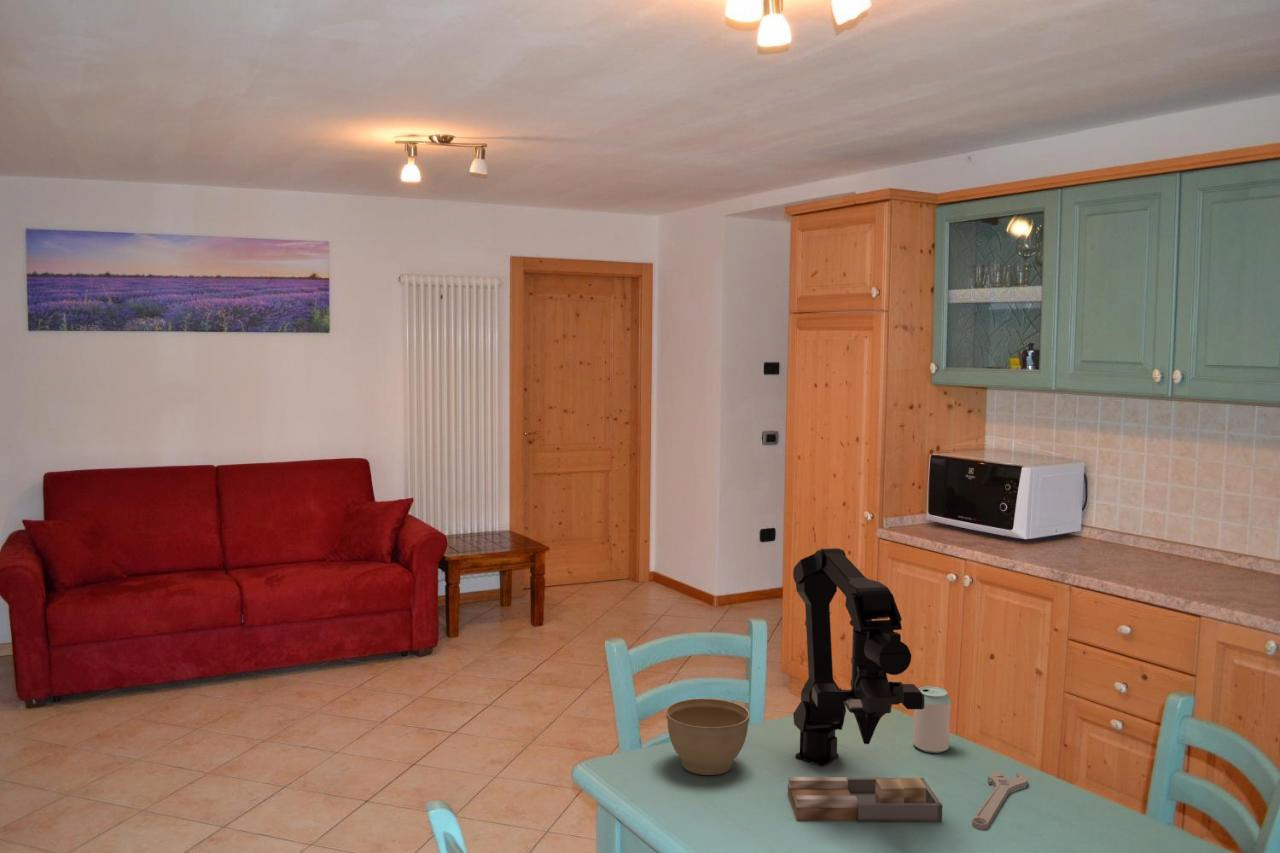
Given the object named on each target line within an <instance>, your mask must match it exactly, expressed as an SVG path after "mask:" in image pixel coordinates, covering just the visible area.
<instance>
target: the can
mask: <svg viewBox="0 0 1280 853" xmlns="http://www.w3.org/2000/svg"><path fill="white" fill-rule="evenodd" d="M918 689H919V690H920V691H921V692H922V694H923V695H924V699H925V701H924V709H913V712H914V713H913V718H914V719H913V736H912V737H913V740H912V744H913V746H915V748H917V749H918V750H920V751H921V752H924V753H929V754H942V753H944V752H945V751H947V750H948V749H949V748H950V732H951V731H950V729H951V704H952V701H951V699H950V697H949V696H948V694H949V692H948V691H947V690H946V689H944V688H941V687H937V686H921V687H920V688H918Z"/></svg>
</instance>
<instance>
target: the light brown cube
mask: <svg viewBox="0 0 1280 853" xmlns="http://www.w3.org/2000/svg"><path fill="white" fill-rule="evenodd" d="M896 778H897V779H898V780H899V781H900V783H901V785H902V786H903V788H904V803H926V787H925V785H924V784H923V782H922V781H921V780H920V778H921V777H896Z"/></svg>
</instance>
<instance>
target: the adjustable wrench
mask: <svg viewBox="0 0 1280 853" xmlns="http://www.w3.org/2000/svg"><path fill="white" fill-rule="evenodd" d="M987 783H988V785H991V784H992V785H993V786H994V787H995V788H994V787H993V786H992V785H991V786H992V787H993V788H994V789H993V790H992V791H991V792H990V794H989V795H988V797H987V798H986V800H985V801H984V802H983V803H982V805H981V806H980V807H979V809H978V810H977V811H976V813H975V814H974V816H973V817H972V819H971V827H973V829H976V830H980V831H985V830H987V829H989V827H990V825H991V824H992V822H993V821H994V819H995V817H996V815H997V814H998V813H999V811H1000V808H1001V807H1002V806H1003V804H1004V802H1005V800H1006V799H1007V797H1008V796H1009V795H1010V794H1012V793H1014V792H1013V791H1015V790H1017V789H1021V788H1024V787H1026V786H1027V787H1028V777H1027V776H1026V775H1025V774H1024V773H1021V772H1018V771H1016V777H1013V778H1012V777H1004V774H1003V771H1002V770H995V771H992V772H991V774H990V776H989V775H988V776H987ZM1027 787H1026V788H1027ZM1024 789H1025V788H1024ZM1021 790H1022V789H1021ZM1011 792H1012V793H1011ZM1015 792H1016V791H1015ZM1009 793H1010V794H1009ZM1008 794H1009V795H1008ZM1007 795H1008V796H1007Z"/></svg>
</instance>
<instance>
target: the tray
mask: <svg viewBox="0 0 1280 853" xmlns="http://www.w3.org/2000/svg"><path fill="white" fill-rule="evenodd" d="M846 778H847V780H848V791H849V793H850V794H851V796H856V798H857V800H858V801H857V808H858V821H857V822H858V823H865V822H866V823H875V822H876V823H942V822H943V807H944V806H943V804H942V803H941V801H940V800H939V798H938V797H937V796H936V794H935V793H934V791H933V790H932V788H931V786H929V784H928V782H927V781H926V780H925V778H924V777H919V778H920V780H921V781H922V782H923V784H924V785H925V787H926V803H876V801H875V788H876V779H897V778H898V777H846Z"/></svg>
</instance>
